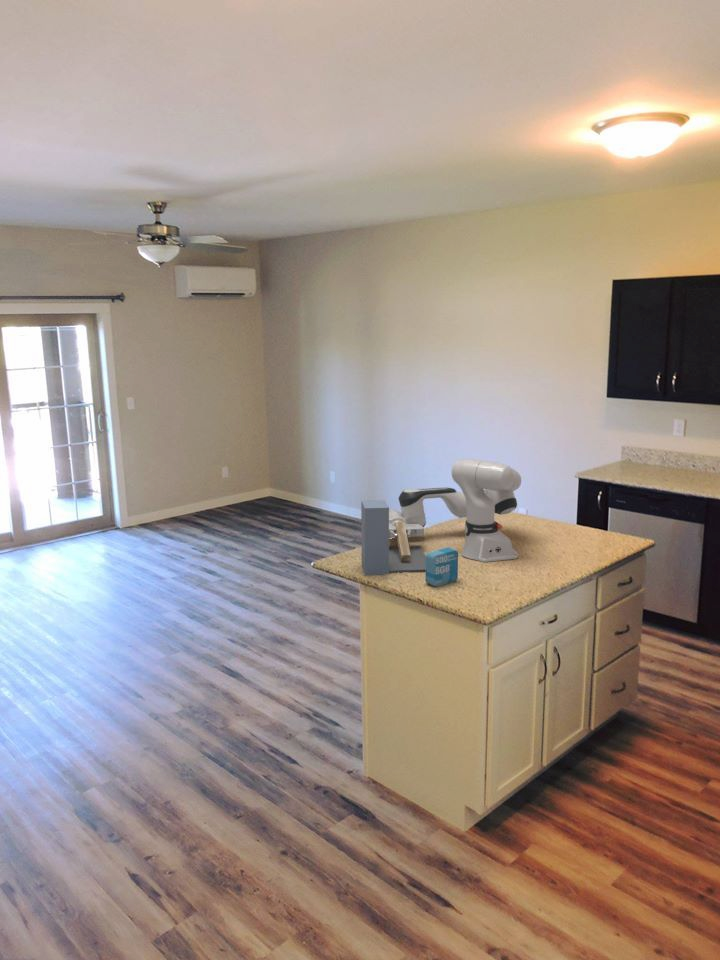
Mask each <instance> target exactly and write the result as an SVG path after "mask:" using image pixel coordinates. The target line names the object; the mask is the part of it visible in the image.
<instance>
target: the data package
mask: <svg viewBox="0 0 720 960" xmlns="http://www.w3.org/2000/svg"><path fill="white" fill-rule="evenodd" d="M425 556H426V572H425V579H424V580H425V583H426V584H428V585H430V586H433V587H435V586H437V587H441V586H443V584H444V585H447V583H448V584H450V583H454V581H455V582H457V580H458V576H459V574H458V573H459V552H458V550H456V549H453V548H451V547H445V548H444V547H443V548H440V549H437V550H432V551H428V552H427V553H426V554H425Z"/></svg>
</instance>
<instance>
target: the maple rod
mask: <svg viewBox="0 0 720 960" xmlns="http://www.w3.org/2000/svg"><path fill="white" fill-rule="evenodd" d="M395 528H396V533H397V534H398V536H397V537H398V538H396V541H397V547H399V553H400V559H401V562H410V556H411V555H410V549H409V546H410V545H409V540H408V539H409V538H407V534H406V529H405V524H404V522H396V525H395Z"/></svg>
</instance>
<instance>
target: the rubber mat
mask: <svg viewBox="0 0 720 960" xmlns="http://www.w3.org/2000/svg"><path fill="white" fill-rule="evenodd" d="M409 549H410V555H411V556H410V562H401V559H400V553H399V547H398V546H389V574H397V573H398V572H399V573H398V574H404V573H403V572H411V573H426V554H425V553H424V551H423V549H422V547H421V545H409Z"/></svg>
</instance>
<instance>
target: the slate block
mask: <svg viewBox="0 0 720 960" xmlns="http://www.w3.org/2000/svg"><path fill="white" fill-rule="evenodd" d="M360 502H361V506H360V507H361V511H360V512H361V532H360V533H361V534H360V535H361V541H360V542H361V543H360V544H361V568H362V571H363V574H364V576H366V577H367V576H386V575H385V574H389V575H390V573H389V547H390V540H389V539H390V537H389V510H390V507H389V505H388V504H387V503H388V502H387V501H386V500H385V499H381V500H380V499H379V500H378V499H377V500H376V499H375V500H371V499H370V500H360Z"/></svg>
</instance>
